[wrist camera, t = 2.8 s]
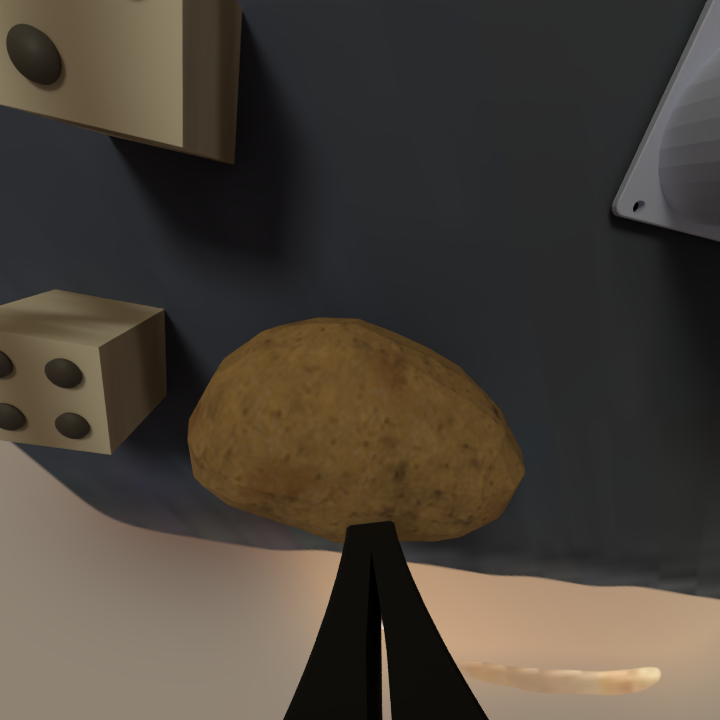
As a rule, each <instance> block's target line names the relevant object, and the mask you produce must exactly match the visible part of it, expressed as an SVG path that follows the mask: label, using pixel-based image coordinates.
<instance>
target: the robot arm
mask: <svg viewBox="0 0 720 720" xmlns="http://www.w3.org/2000/svg"><path fill="white" fill-rule="evenodd" d="M636 202H638V208H637V210H636V211H635V212H633V206H634V205H635V203H636ZM612 212H613V214H614V215H616V216H618V217H622V218H626V219H630V220H634V221H638V222H642V223H646V224H650V225H654V226H659V227H663V228H667V229H671V230H675V231H679V232H683V233H687V234H691V235H695V236H699V237H703V238H707V239H711V240H715V241H719V242H720V0H707V2H706V4H705V6H704V8H703V10H702V13H701V15H700V17H699V19H698V21H697V23H696V25H695V28H694V30H693V32H692V34H691V36H690V38H689V40H688V43H687V45H686V47H685V49H684V51H683V53H682V55H681V58H680V60H679V62H678V64H677V66H676V68H675V70H674V73H673V75H672V77H671V79H670V81H669V83H668V85H667V88H666V90H665V92H664V94H663V96H662V98H661V100H660V103H659V105H658V107H657V109H656V111H655V113H654V115H653V118H652V120H651V122H650V124H649V126H648V128H647V130H646V132H645V135H644V137H643V139H642V141H641V143H640V145H639V147H638V150H637V152H636V154H635V156H634V158H633V160H632V162H631V165H630V167H629V169H628V171H627V173H626V175H625V177H624V180H623V182H622V184H621V186H620V188H619V190H618V192H617V195H616V197H615V199H614V201H613V204H612ZM381 614H382V620H383V626H384V633H385V642H386V649H387V661H388V674H389V688H390V701H391V715H392V720H489V719H488V718H487V716H486V714H485V713H484V711H483V710H482V708H481V706H480V705H479V703H478V701H477V699H476V698H475V696H474V695H473V693H472V691H471V689H470V688H469V686H468V684H467V683H466V681H465V679H464V677H463V676H462V674H461V672H460V670H459V669H458V667H457V665H456V663H455V662H454V660H453V658H452V656H451V654H450V653H449V651H448V649H447V647H446V645H445V644H444V642H443V640H442V638H441V636H440V634H439V632H438V630H437V628H436V626H435V624H434V622H433V620H432V618H431V616H430V614H429V612H428V610H427V608H426V606H425V604H424V602H423V600H422V597H421V595H420V593H419V591H418V589H417V586H416V584H415V582H414V580H413V578H412V575H411V573H410V570H409V568H408V565H407V563H406V560H405V557H404V555H403V552H402V549H401V546H400V543H399V540H398V536H397V532H396V528H395V523H394V522H392V521H382V522H373V523H365V524H356V525H349V526H348V527H347V528H346V536H345V542H344V547H343V552H342V556H341V561H340V565H339V569H338V572H337V577H336V580H335V583H334V586H333V590H332V593H331V596H330V600H329V603H328V606H327V609H326V613H325V616H324V618H323V621H322V624H321V627H320V630H319V632H318V636H317V638H316V641H315V644H314V647H313V649H312V652H311V655H310V657H309V660H308V662H307V665H306V667H305V670H304V672H303V675H302V677H301V680H300V682H299V685H298V687H297V689H296V692H295V694H294V697H293V699H292V701H291V704H290V706H289V708H288V710H287V712H286V714H285V717H284V719H283V720H382V663H381V662H382V661H381V660H382V657H381Z"/></svg>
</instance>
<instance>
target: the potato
mask: <svg viewBox="0 0 720 720" xmlns="http://www.w3.org/2000/svg"><path fill="white" fill-rule="evenodd" d="M188 446H189V452H190V457H191V463H192V469H193V475H194V477H195V478H196V479H197V480H198V482H199V483H200V484H201V485H202V486H204V487H205V488H206V489H208V490H209V491H210V492H212V493H213V494H214V495H216V496H217V497H218V498H220V499H221V500H222V501H224V502H225V503H226V504H228V505H229V506H232V507H235V508H238V509H241V510H244V511H247V512H250V513H253V514H256V515H259V516H262V517H265V518H268V519H271V520H274V521H277V522H280V523H283V524H287V525H290V526H293V527H296V528H299V529H302V530H305V531H307V532H310V533H312V534H315V535H317V536H320V537H322V538H325V539H327V540H330V541H332V542H335V543H344V542H345V536H346V528H347V527H348V526H349V525H356V524H365V523H373V522H382V521H392V522H394V523H395V528H396V532H397V536H398V540H399V542H401V541H431V542H434V541H440V540H446V539H452V538H458V537H462V536H464V535H466V534H468V533H470V532H472V531H474V530H476V529H478V528H480V527H482V526H484V525H486V524H488V523H490V522H492V521H494V520H496V519H498V518H500V516H501V515H502V513H503V512H504V510H505V509H506V507H507V506H508V504H509V502H510V500H511V498H512V496H513V495H514V493H515V491H516V489H517V487H518V485H519V484H520V482H521V480H522V478H523V476H524V474H525V468H524V463H523V457H522V452H521V449H520V447H519V445H518V443H517V441H516V440H515V438H514V436H513V434H512V432H511V430H510V428H509V426H508V424H507V422H506V420H505V418H504V416H503V414H502V412H501V410H500V409H499V408H498V406H497V405H496V404H495V403H494V402H493V401H492V400H491V398H490V397H489V396H488V395H487V394H486V393H485V392H484V391H483V390H482V389H481V388H480V387H479V386H478V385H477V384H476V383H475V382H474V381H473V380H472V379H471V378H470V377H469V376H468V375H467V374H466V373H465V372H464V371H463V370H462V369H461V368H460V367H459V366H458V365H456V364H455V363H453V362H451V361H450V360H448V359H446V358H445V357H443V356H441V355H439V354H438V353H436V352H434V351H433V350H431V349H429V348H427V347H425V346H423V345H421V344H419V343H417V342H414V341H412V340H410V339H408V338H406V337H404V336H402V335H399V334H397V333H395V332H392V331H390V330H387V329H384V328H382V327H379V326H376V325H374V324H371V323H368V322H366V321H363V320H360V319H348V318H320V317H317V318H313V319H308V320H303V321H299V322H294V323H290V324H285V325H280V326H277V327H274V328H271V329H268V330H265V331H262V332H261V333H259V334H258V335H257V336H255V337H254V338H252V339H251V340H249V341H248V342H247V343H245V344H244V345H242V346H241V347H240V348H238V349H237V350H235V351H234V352H233V353H231V354H230V355H228V356H227V357H226V358H224V359H223V361H222V363H221V364H220V366H219V367H218V369H217V371H216V372H215V374H214V375H213V377H212V379H211V380H210V382H209V384H208V386H207V388H206V389H205V391H204V393H203V395H202V397H201V399H200V400H199V402H198V404H197V406H196V408H195V409H194V411H193V413H192V415H191V417H190V419H189V427H188Z"/></svg>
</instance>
